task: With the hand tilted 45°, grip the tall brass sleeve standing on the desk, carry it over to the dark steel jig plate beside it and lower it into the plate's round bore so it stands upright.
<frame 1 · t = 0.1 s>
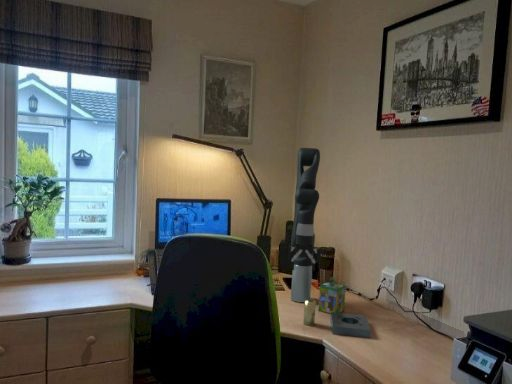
hand: (302, 270, 182), 17 cm above the table, tool pointing down, fingers open, 8 cm apart
chalk box: (331, 311, 184), on the table
jig plate: (349, 328, 164), on the table
brass sleeve: (308, 323, 166), on the table
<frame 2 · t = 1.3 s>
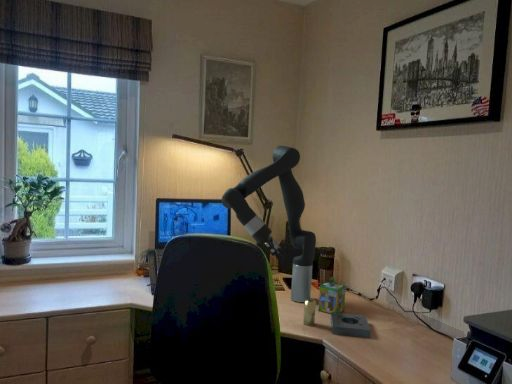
hand: (284, 259, 166), 25 cm above the table, tool tilted 45°, fingers open, 8 cm apart
nothing on the table moved.
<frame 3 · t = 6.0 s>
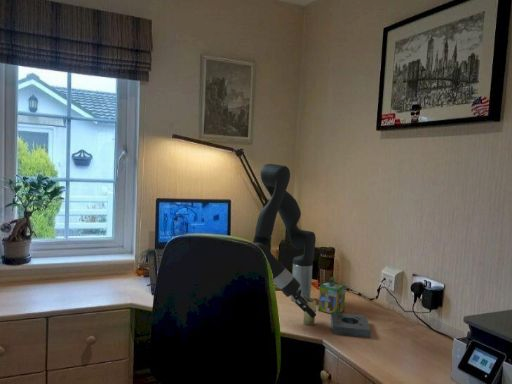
hand: (314, 314, 166), 4 cm above the table, tool tilted 45°, fingers closed on brass sleeve, 4 cm apart
brass sleeve: (308, 323, 166), on the table, touching gripper
everything else where it was.
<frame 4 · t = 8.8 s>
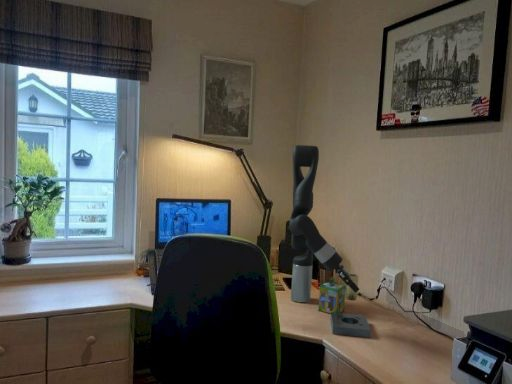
hand: (356, 289, 163), 16 cm above the table, tool tilted 45°, fingers closed on brass sleeve, 4 cm apart
brass sleeve: (350, 298, 163), point 12 cm above the table, touching gripper
everything else where it was.
when the fingers open (6 cm above the table, at t = 11.6 s): brass sleeve drops 1 cm, resting in jig plate.
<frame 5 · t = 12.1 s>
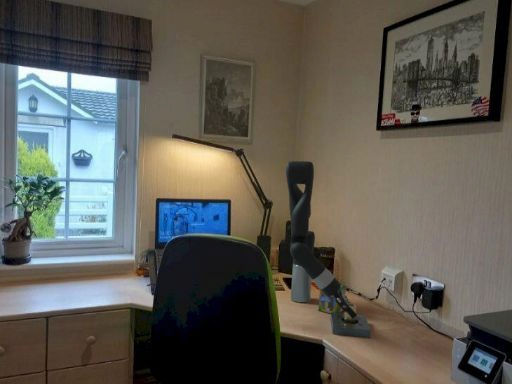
hand: (353, 313, 164), 6 cm above the table, tool tilted 45°, fingers open, 8 cm apart
brass sleeve: (349, 328, 164), resting in jig plate
everything else where it was.
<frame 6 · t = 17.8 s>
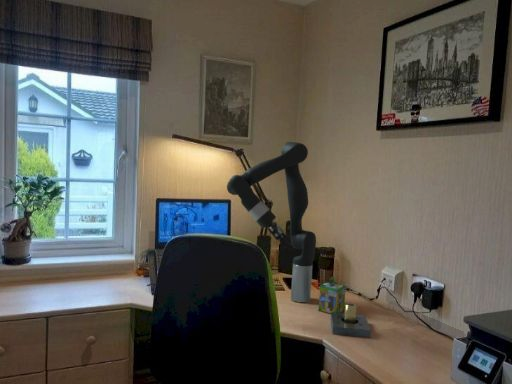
hand: (287, 243, 172), 31 cm above the table, tool tilted 45°, fingers open, 8 cm apart
nothing on the table moved.
at the end: brass sleeve 0.1 cm from the jig plate (horizontally); brass sleeve resting in jig plate; brass sleeve tilted 0° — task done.
